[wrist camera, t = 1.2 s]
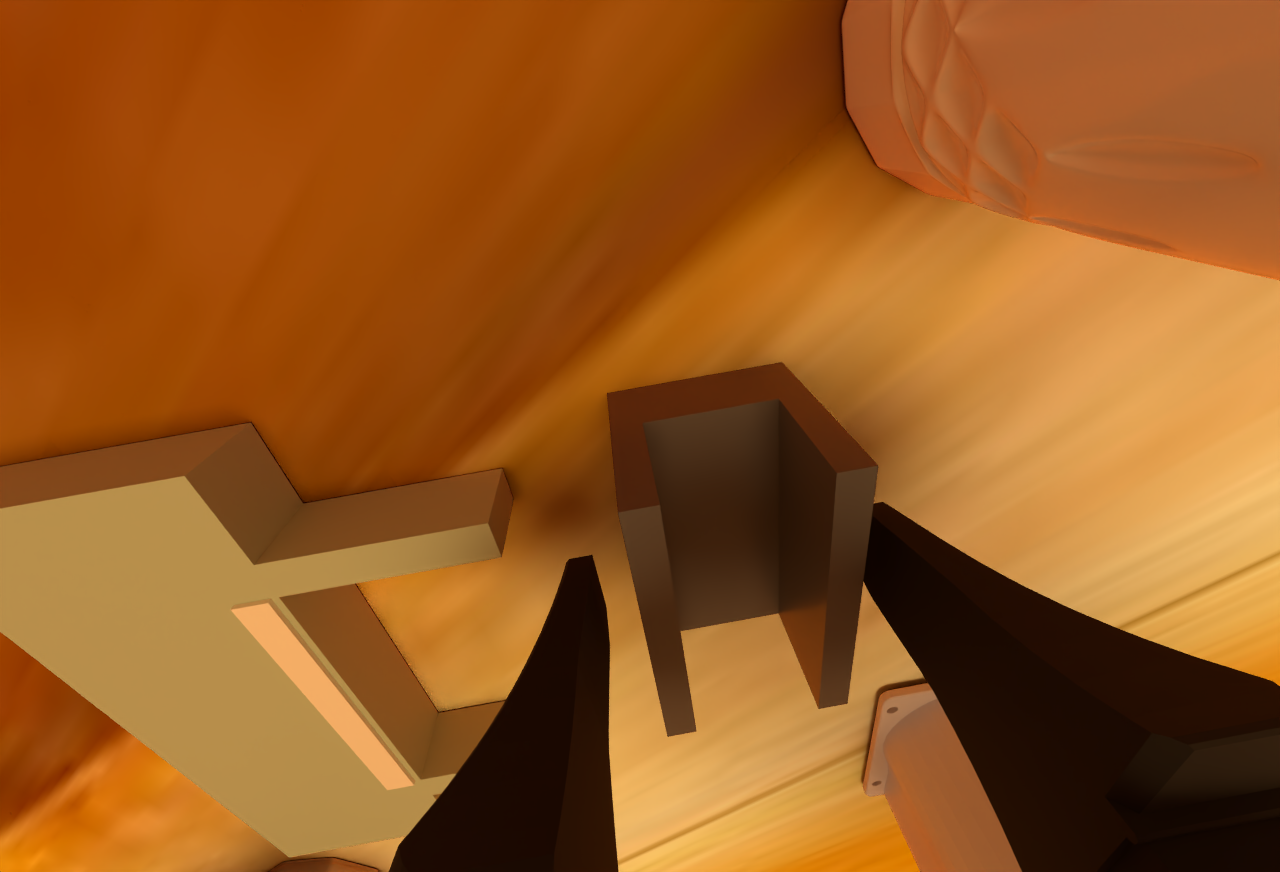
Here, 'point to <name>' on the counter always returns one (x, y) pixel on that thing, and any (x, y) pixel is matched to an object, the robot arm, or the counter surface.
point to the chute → (742, 520)
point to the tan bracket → (246, 623)
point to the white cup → (1083, 115)
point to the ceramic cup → (321, 866)
